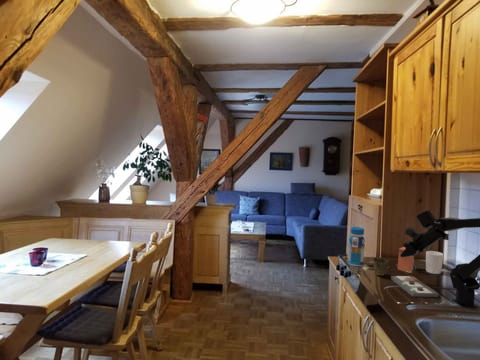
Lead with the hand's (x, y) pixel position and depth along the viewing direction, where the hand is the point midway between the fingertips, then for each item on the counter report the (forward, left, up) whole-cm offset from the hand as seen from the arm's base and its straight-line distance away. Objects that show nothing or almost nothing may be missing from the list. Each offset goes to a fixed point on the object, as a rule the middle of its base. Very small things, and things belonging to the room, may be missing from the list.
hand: (403, 255), depth 158 cm
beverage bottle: (+24, +14, -13) cm, 30 cm away
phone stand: (+18, -12, -13) cm, 25 cm away
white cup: (+14, -24, -13) cm, 31 cm away
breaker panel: (-8, -1, -12) cm, 15 cm away
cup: (+7, +7, -13) cm, 16 cm away
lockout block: (-1, -1, -7) cm, 7 cm away
